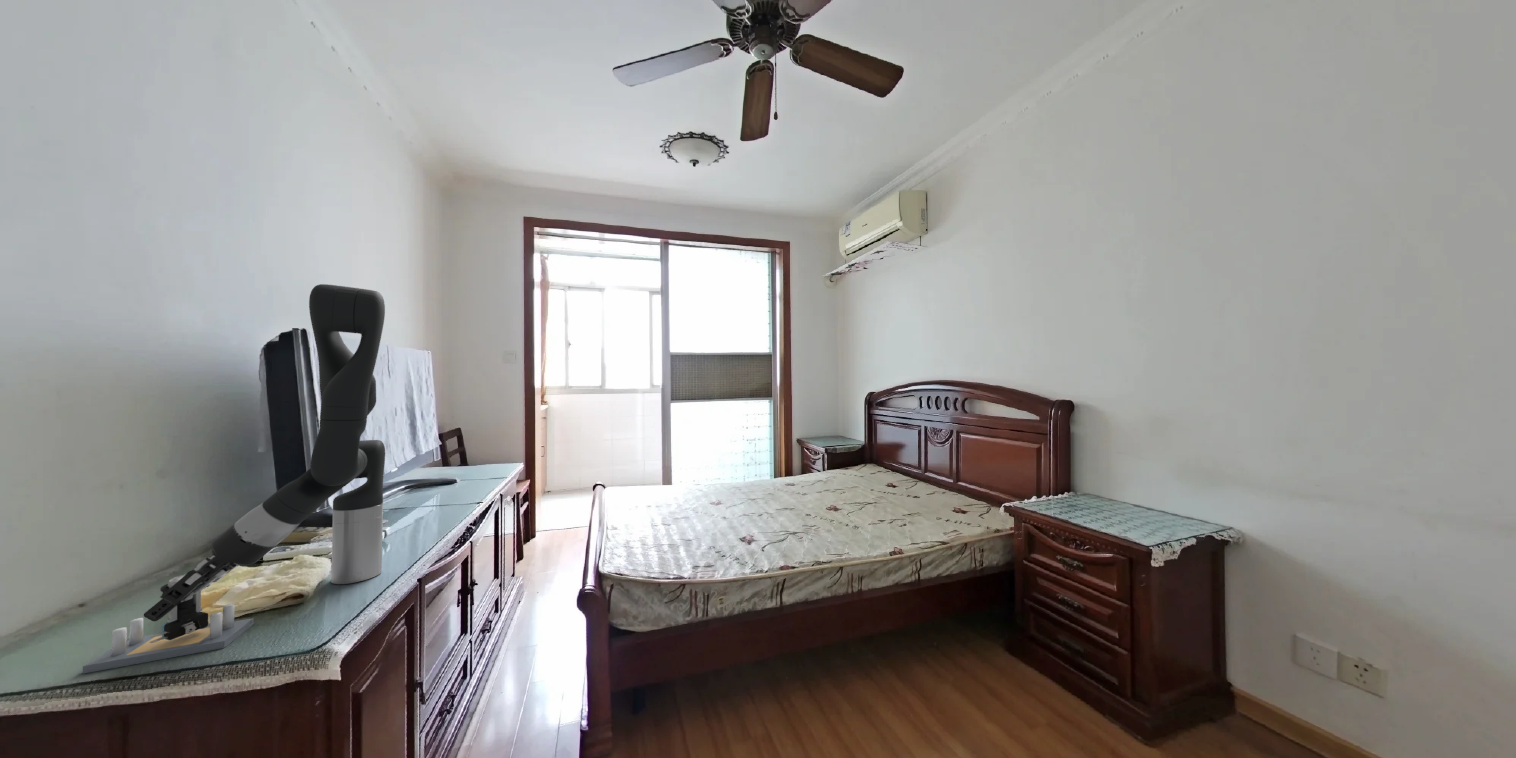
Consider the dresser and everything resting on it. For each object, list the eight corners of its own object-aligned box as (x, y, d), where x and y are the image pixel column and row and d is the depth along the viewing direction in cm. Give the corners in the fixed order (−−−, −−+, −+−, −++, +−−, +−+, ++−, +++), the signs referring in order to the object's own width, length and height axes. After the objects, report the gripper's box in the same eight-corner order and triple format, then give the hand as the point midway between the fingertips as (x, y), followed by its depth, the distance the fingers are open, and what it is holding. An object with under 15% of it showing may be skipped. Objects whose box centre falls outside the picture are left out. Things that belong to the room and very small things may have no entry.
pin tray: (128, 645, 80) (129, 615, 80) (253, 624, 87) (254, 597, 87) (82, 673, 72) (83, 640, 72) (224, 647, 79) (225, 617, 79)
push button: (160, 648, 76) (161, 589, 75) (140, 643, 77) (140, 585, 77) (216, 626, 82) (216, 572, 82) (196, 622, 83) (196, 569, 83)
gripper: (260, 510, 90) (170, 583, 84) (214, 530, 77) (104, 617, 71) (295, 533, 92) (210, 605, 86) (256, 556, 79) (153, 642, 73)
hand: (163, 610), depth 79 cm, fingers open, 5 cm apart
